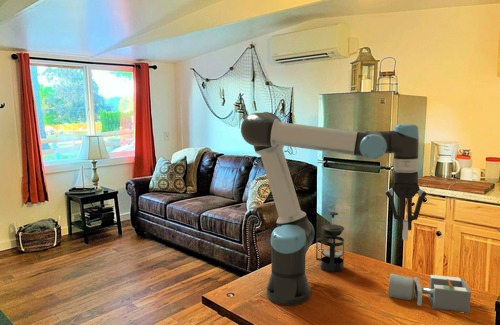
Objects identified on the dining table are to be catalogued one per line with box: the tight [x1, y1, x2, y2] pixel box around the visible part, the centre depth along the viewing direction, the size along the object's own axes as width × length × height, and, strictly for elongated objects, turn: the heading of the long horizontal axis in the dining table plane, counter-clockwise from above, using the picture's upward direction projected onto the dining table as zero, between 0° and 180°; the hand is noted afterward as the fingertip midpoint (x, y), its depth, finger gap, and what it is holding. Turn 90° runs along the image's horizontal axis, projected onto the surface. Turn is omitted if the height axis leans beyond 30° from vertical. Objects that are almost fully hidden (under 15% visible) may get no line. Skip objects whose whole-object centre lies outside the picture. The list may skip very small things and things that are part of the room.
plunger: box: [413, 276, 452, 307], centre depth 123 cm, size 12×11×7 cm
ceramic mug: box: [387, 273, 415, 301], centre depth 128 cm, size 11×8×8 cm
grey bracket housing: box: [427, 274, 472, 314], centre depth 122 cm, size 10×10×7 cm
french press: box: [315, 211, 345, 274], centre depth 151 cm, size 12×9×23 cm
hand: (405, 239), depth 128 cm, fingers closed
